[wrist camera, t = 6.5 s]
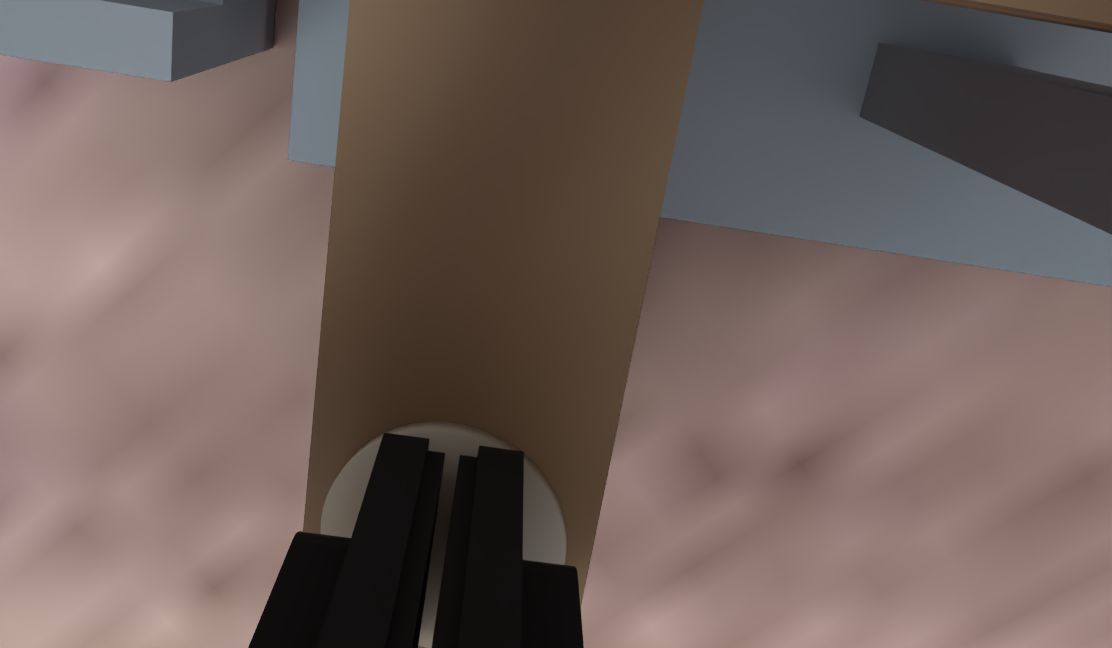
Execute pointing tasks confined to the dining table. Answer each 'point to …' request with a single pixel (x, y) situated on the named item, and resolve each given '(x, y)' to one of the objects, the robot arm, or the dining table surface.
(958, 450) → the dining table surface
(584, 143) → the seesaw
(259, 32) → the tray
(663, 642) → the dining table surface
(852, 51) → the fulcrum
